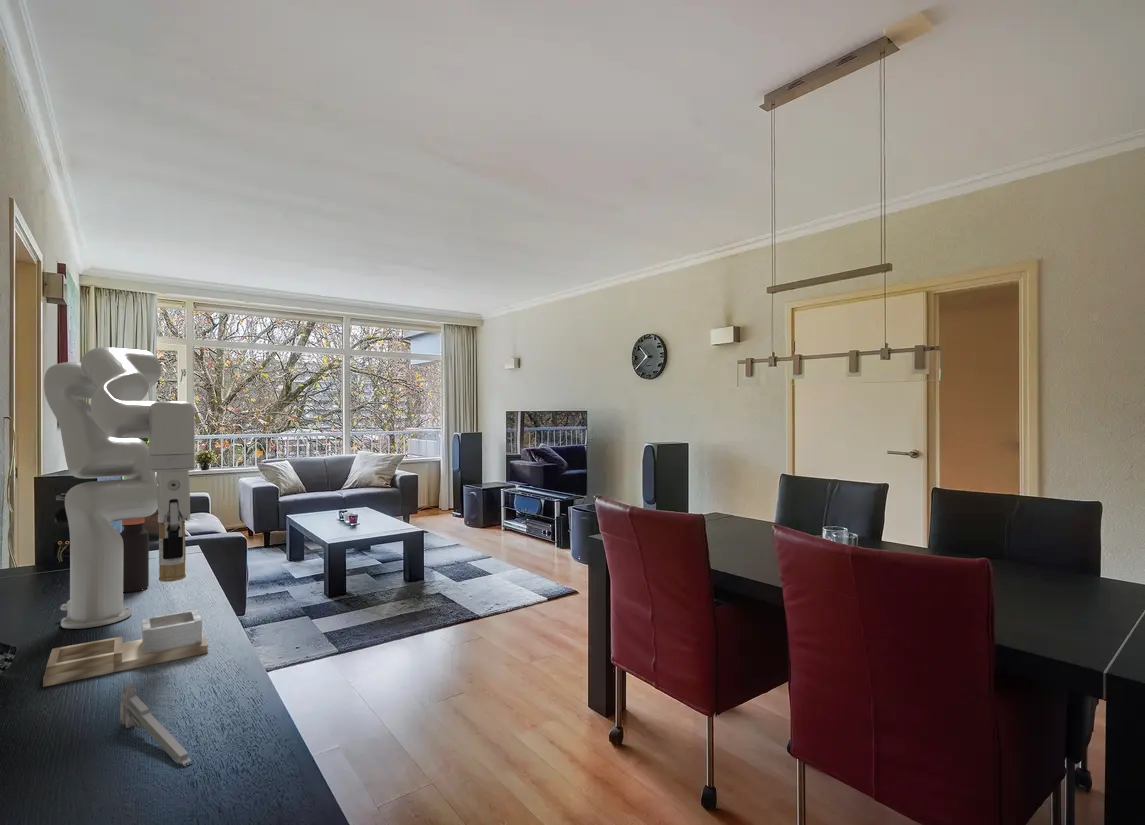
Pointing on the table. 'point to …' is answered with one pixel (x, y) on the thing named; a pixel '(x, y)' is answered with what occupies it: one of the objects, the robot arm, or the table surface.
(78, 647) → the stand board
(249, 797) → the table surface
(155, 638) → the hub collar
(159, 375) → the robot arm
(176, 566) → the sprinkles bottle
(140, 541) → the vinegar
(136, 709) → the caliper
